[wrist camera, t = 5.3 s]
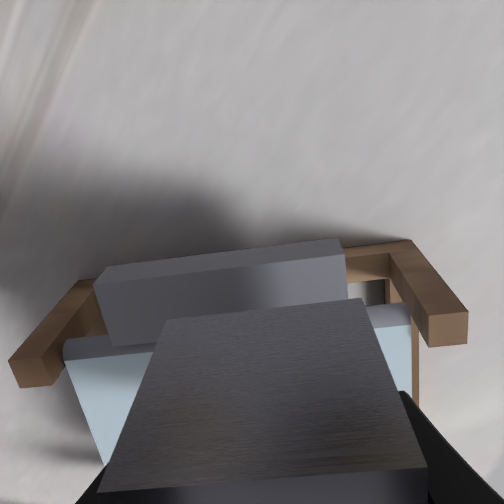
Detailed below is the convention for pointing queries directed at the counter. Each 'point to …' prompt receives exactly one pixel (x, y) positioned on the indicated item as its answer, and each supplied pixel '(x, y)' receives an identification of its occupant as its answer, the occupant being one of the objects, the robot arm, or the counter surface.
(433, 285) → the frame
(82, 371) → the trapdoor
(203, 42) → the counter surface
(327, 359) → the iron block
